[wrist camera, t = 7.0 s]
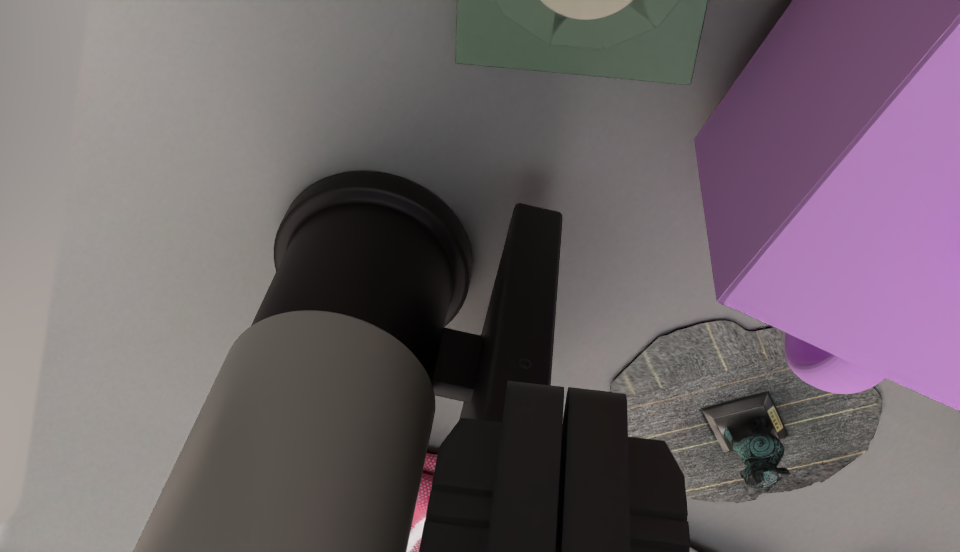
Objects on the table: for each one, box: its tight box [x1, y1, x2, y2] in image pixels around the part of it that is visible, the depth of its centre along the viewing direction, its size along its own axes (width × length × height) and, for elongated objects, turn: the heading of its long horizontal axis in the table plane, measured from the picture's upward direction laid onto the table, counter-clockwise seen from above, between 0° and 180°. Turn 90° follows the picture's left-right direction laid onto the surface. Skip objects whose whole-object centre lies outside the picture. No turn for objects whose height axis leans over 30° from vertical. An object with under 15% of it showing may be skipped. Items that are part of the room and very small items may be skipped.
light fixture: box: [133, 172, 562, 552], centre depth 29 cm, size 12×11×25 cm
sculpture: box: [611, 320, 882, 503], centre depth 42 cm, size 12×9×8 cm
